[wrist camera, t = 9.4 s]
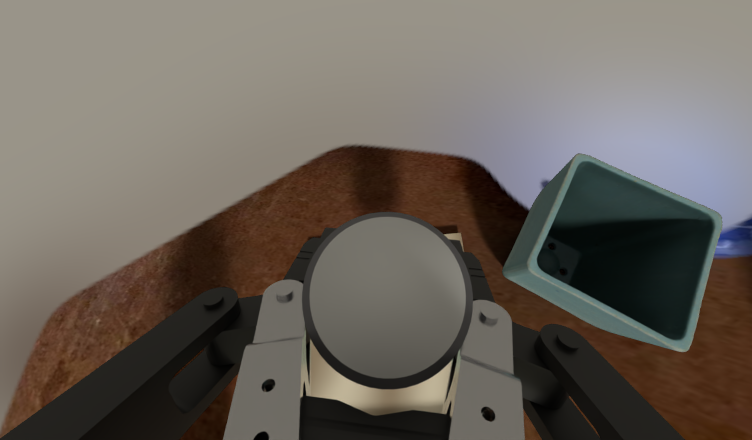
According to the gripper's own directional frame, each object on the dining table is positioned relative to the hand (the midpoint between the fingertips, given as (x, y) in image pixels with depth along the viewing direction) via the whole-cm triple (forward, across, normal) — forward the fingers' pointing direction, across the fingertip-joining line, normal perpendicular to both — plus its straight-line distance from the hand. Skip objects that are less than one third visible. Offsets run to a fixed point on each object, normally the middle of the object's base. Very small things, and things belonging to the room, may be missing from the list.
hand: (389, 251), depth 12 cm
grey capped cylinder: (+2, 0, +5) cm, 5 cm away
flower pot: (+11, -14, +7) cm, 19 cm away
